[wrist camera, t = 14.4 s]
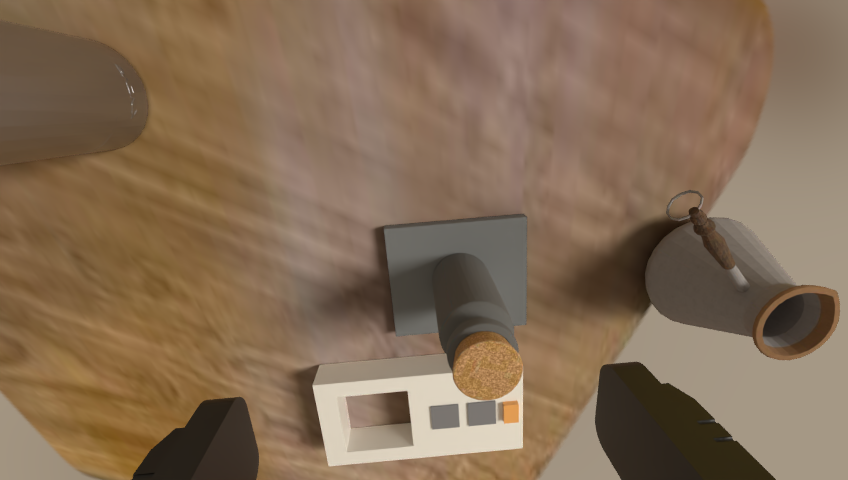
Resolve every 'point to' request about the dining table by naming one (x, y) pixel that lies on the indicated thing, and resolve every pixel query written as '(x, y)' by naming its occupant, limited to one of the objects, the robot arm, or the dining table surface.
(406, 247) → the mat
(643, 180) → the dining table surface
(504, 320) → the bottle
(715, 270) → the coffee pot
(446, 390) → the power strip
